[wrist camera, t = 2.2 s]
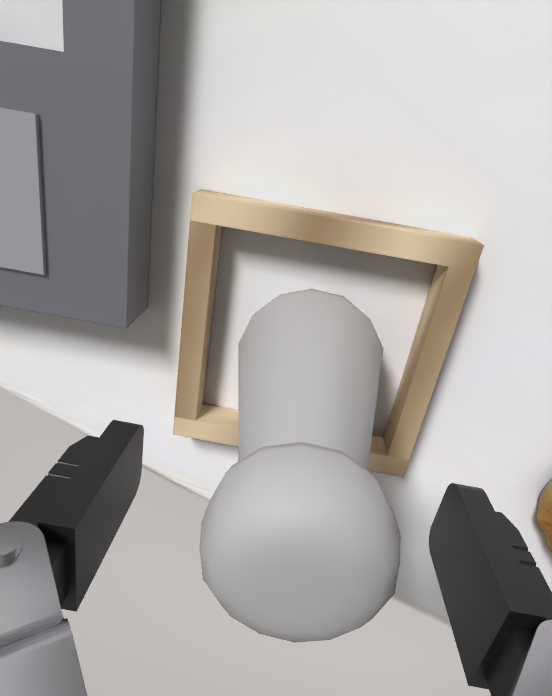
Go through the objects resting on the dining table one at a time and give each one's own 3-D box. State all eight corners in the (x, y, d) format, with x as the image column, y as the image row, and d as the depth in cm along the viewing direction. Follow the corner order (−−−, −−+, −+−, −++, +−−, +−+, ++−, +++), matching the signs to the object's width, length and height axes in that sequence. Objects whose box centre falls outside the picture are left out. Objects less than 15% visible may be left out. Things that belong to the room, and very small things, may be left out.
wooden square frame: (471, 237, 18) (484, 245, 17) (398, 457, 23) (403, 476, 22) (201, 189, 19) (192, 193, 17) (181, 417, 23) (173, 434, 22)
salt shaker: (394, 293, 20) (506, 524, 8) (354, 405, 22) (394, 711, 10) (260, 260, 20) (170, 442, 8) (235, 376, 22) (137, 650, 10)
